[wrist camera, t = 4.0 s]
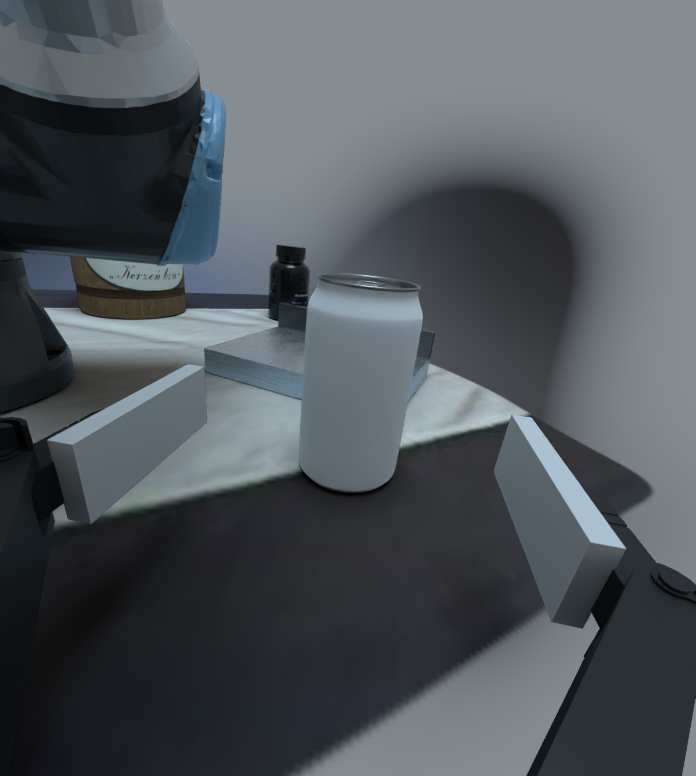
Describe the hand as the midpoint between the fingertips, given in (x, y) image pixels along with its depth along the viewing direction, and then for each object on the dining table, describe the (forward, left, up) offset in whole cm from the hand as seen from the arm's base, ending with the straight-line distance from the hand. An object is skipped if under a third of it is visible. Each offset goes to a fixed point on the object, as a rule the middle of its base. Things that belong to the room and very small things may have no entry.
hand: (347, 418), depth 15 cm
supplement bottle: (-29, +41, -7) cm, 51 cm away
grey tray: (-11, +20, -7) cm, 24 cm away
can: (-2, +6, -7) cm, 10 cm away
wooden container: (-49, +27, -7) cm, 56 cm away
